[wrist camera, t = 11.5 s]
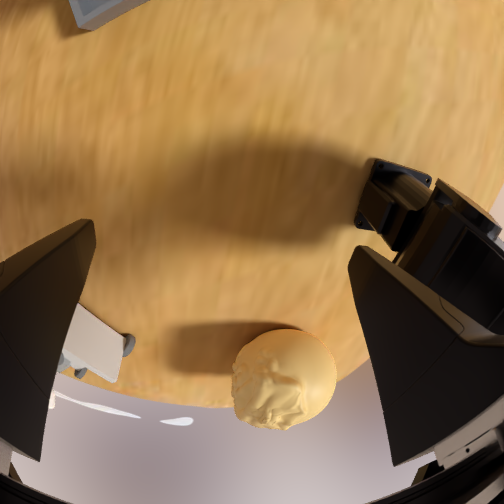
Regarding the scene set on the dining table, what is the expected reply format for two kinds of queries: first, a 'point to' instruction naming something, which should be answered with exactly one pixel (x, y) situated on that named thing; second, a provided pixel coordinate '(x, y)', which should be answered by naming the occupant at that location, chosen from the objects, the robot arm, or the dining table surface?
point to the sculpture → (282, 379)
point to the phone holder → (92, 348)
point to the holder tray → (100, 11)
